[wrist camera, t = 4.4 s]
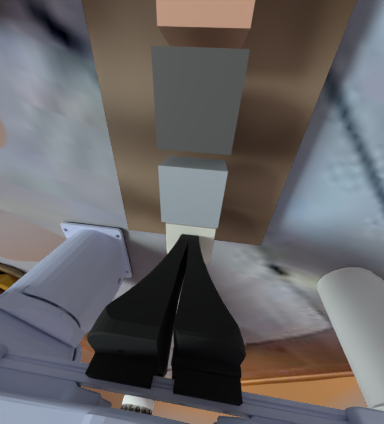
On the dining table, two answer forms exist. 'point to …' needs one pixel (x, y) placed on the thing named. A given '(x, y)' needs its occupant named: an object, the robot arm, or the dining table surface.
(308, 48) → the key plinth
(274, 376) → the dining table surface
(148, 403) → the decorative candle
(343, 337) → the foam cup
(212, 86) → the key charcoal
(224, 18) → the key terracotta
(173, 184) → the key slate
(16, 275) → the toy sandwich meal
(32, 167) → the dining table surface
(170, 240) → the white block
